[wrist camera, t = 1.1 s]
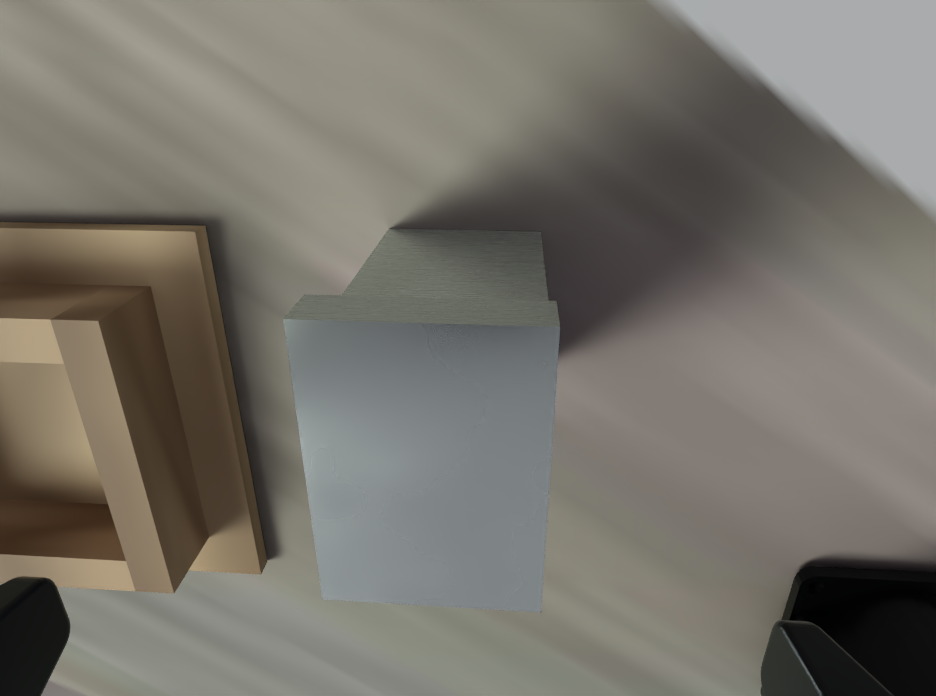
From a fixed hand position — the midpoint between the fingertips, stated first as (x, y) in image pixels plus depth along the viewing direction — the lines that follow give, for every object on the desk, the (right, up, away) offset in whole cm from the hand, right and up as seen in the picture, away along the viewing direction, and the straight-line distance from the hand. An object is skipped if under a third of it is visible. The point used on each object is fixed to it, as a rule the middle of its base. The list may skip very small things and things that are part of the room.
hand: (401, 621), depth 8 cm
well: (-12, +1, +12) cm, 17 cm away
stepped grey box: (+1, +5, +10) cm, 11 cm away
